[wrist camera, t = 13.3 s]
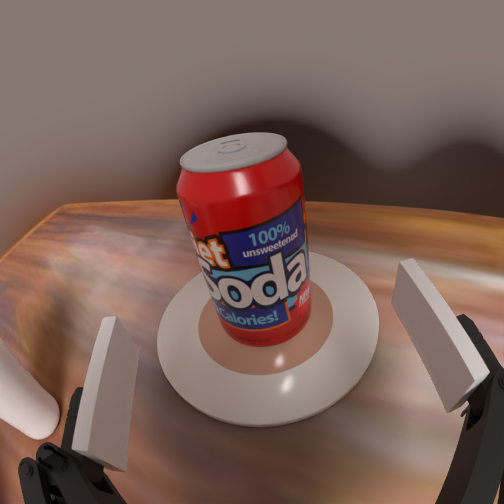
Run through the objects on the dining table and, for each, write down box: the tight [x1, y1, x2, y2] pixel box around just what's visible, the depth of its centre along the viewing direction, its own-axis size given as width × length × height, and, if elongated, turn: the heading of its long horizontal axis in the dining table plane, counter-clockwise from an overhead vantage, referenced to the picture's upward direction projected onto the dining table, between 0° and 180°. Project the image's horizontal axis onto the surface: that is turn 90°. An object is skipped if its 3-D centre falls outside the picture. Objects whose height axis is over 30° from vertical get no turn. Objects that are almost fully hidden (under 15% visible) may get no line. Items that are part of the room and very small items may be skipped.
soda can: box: [176, 133, 311, 347], centre depth 22 cm, size 8×8×15 cm
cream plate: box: [157, 251, 379, 427], centre depth 26 cm, size 20×20×1 cm
